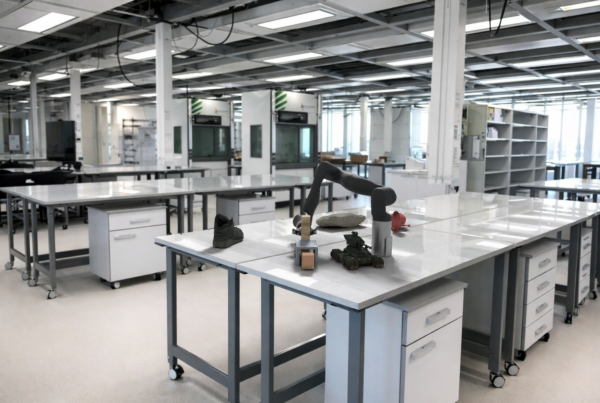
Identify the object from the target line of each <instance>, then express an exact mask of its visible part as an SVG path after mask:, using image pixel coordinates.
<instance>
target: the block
mask: <svg viewBox="0 0 600 403" xmlns="http://www.w3.org/2000/svg"><path fill="white" fill-rule="evenodd" d="M302 267H314V268H315V264H314V253H313V252H310V253H302V264H301V268H302Z"/></svg>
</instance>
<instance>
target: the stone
mask: <svg viewBox="0 0 600 403" xmlns="http://www.w3.org/2000/svg"><path fill="white" fill-rule="evenodd" d="M365 220H367V217H366V215H364V214H356V213H352V212H342V213H332V214H329V215H325V216H321V217H319V218H317V219H316V220H315V224H316V225H317V226H319V227H325V228H326V227H340V228H341V227H342V228H354V227H358V226H360V225H361V224H363V223H364V222H365Z"/></svg>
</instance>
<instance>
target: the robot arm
mask: <svg viewBox="0 0 600 403" xmlns="http://www.w3.org/2000/svg"><path fill="white" fill-rule="evenodd" d="M324 180H326V181H329V182H332V183H336V184H339V185H341V187H343V188H344V189H346V190H347V191H349V192H351V193H354V194H356V195H360V196H367V197H370V214H371V218H372V220H371V221H372V222H371V242H370V244H371V245H370V246H371V247H372V249H371V250H370V252H371V254H372V255H378V256H380V257H381V258H387V257H390V256H393V255H392V254H393V236H392V226H391V221H392V216H391V213H388V211H387V207H390V206H392V205H394V204H395V203H396V202H397V198H398V197H397V193H396V191H395V190H394V189H393V188H392V187H390V186H385V185H382V184H378V183H375V181H372V180H369V179H368V178H365V177H363V176H361V175H359V174H357V173H355V172H354V173H353V172H349V171H344V170H342V169H341V168H339V167H338V166H337V165H335V164H333V163H331V162H329V161H326V160H324V161H321V162H320V163H319V164H318V165H317V168H316V170H315V173H314V177H313V180H312V184H311V186H310V190H309V193H308V195H307V197H306V199H305V201H304V204H303V205H302V209H301V210H302V211H303V212H304V213H306V214H307V215H310V237H311V236H314V235H317V234H318V229H317V228H313V227H312V224H313V219H314V218H313V217H314V215H315V212H316V210H317V207H318V206H319V203H320V199H321V188H322V187H321V186H322V185H323V184H322V183H323V182H324ZM301 215H302V214H299V213H298V214H295V215H294V217H293V219H292V225H293V227H294V228H292V230H291V234H292V235H296V236H300V237H301Z"/></svg>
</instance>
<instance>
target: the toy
mask: <svg viewBox="0 0 600 403" xmlns="http://www.w3.org/2000/svg"><path fill="white" fill-rule="evenodd" d="M390 215H391V216H392V221H391V229H392V230H391V233H394V232H395V231H396V233H399V229H400V228H402V227H411V224H406V223H407V222H406V221H407V216H405V215H404V214H402V213H401V212H399V211H398V210H395V211H393V212H392V213H390Z"/></svg>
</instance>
